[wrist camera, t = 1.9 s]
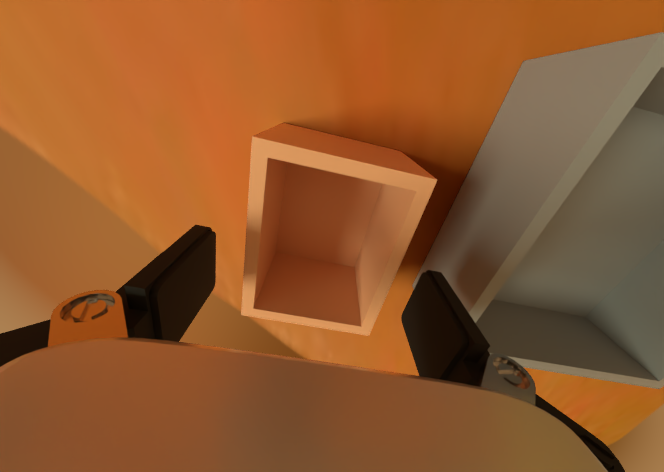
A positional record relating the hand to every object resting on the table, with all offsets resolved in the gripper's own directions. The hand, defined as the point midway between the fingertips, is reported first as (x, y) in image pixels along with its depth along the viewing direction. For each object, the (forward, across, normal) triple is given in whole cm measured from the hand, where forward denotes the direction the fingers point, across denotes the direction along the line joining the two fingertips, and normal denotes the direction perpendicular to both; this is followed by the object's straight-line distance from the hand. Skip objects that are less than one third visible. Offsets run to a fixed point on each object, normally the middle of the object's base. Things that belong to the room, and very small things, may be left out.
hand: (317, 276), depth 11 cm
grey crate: (+6, -16, -3) cm, 17 cm away
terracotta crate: (+6, 0, -1) cm, 6 cm away
